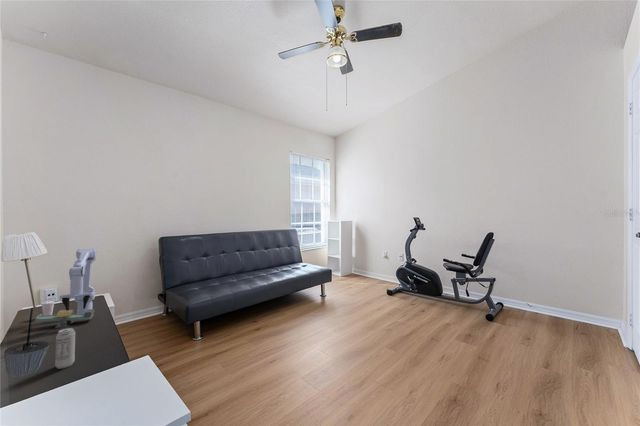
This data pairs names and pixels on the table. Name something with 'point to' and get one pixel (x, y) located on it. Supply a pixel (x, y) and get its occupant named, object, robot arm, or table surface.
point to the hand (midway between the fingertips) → (76, 309)
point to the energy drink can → (65, 348)
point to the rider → (64, 313)
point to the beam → (47, 318)
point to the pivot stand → (64, 323)
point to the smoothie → (47, 307)
